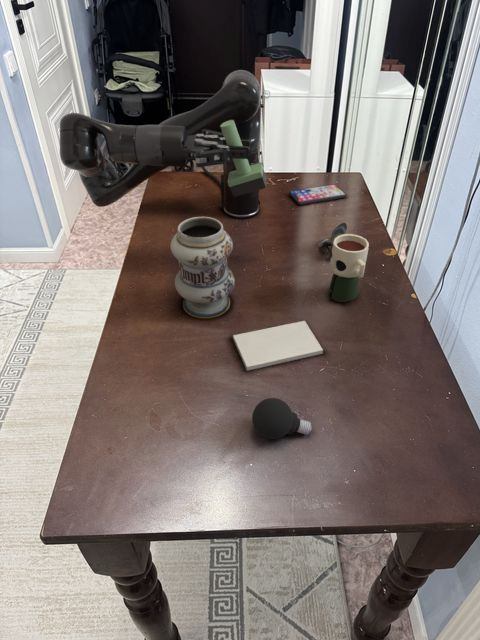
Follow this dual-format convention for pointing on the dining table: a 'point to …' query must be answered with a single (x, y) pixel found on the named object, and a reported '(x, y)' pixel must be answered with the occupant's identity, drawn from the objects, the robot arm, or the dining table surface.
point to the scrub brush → (242, 166)
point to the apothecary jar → (203, 266)
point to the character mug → (347, 266)
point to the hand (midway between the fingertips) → (249, 149)
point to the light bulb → (277, 419)
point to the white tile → (276, 345)
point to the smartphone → (317, 194)
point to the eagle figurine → (329, 242)
